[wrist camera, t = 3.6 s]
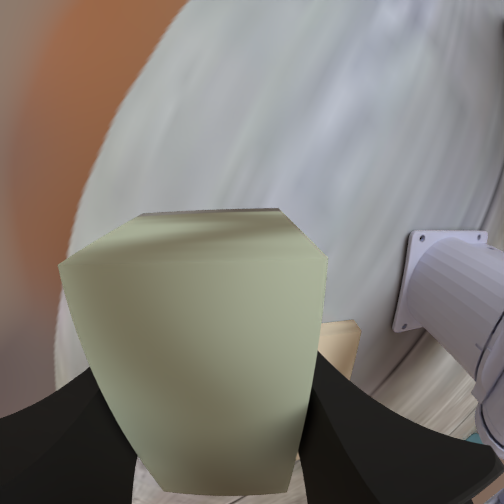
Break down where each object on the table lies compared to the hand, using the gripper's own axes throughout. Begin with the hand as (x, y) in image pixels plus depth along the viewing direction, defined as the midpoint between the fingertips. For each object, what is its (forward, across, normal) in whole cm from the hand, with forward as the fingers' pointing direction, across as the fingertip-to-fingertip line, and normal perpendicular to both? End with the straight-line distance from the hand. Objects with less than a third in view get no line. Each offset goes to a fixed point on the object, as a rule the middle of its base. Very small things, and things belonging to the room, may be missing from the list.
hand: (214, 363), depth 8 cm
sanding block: (+2, 0, 0) cm, 2 cm away
